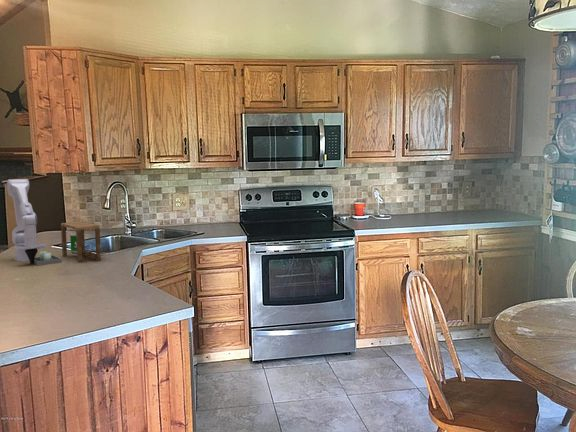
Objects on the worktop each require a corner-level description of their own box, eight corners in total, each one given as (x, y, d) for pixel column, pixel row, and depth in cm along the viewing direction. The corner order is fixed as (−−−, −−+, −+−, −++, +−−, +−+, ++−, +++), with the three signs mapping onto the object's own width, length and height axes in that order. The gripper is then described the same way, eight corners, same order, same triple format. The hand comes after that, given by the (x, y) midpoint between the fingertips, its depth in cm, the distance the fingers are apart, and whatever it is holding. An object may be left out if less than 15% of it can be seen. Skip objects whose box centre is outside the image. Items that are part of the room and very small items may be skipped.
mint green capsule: (43, 262, 268) (42, 253, 267) (50, 261, 270) (49, 252, 270) (45, 264, 265) (45, 254, 265) (52, 263, 268) (52, 253, 267)
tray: (30, 263, 270) (29, 258, 270) (53, 259, 278) (53, 255, 278) (38, 266, 261) (37, 261, 261) (61, 263, 270) (61, 258, 269)
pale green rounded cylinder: (39, 261, 272) (38, 252, 271) (46, 260, 274) (45, 251, 274) (41, 262, 269) (41, 253, 268) (48, 261, 272) (48, 252, 271)
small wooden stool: (62, 257, 285) (60, 223, 282) (83, 254, 293) (82, 221, 291) (79, 263, 269) (77, 227, 267) (100, 260, 278) (99, 225, 275)
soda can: (70, 253, 294) (69, 233, 293) (72, 251, 301) (71, 231, 300) (84, 253, 296) (83, 232, 295) (85, 250, 303) (84, 230, 302)
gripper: (17, 240, 255) (19, 266, 257) (47, 236, 265) (49, 262, 267) (13, 238, 260) (14, 264, 262) (42, 235, 270) (44, 260, 272)
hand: (31, 263), depth 265 cm, fingers closed
